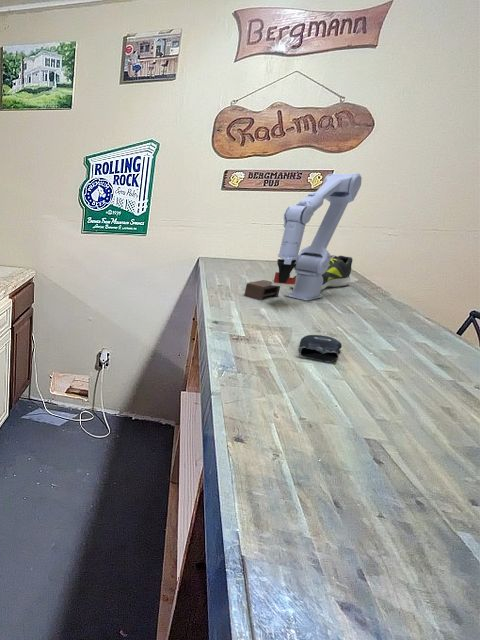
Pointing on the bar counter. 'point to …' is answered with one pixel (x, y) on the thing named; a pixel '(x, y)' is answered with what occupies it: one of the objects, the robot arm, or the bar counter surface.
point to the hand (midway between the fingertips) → (282, 281)
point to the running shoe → (337, 272)
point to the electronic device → (319, 348)
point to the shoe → (289, 283)
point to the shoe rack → (261, 289)
